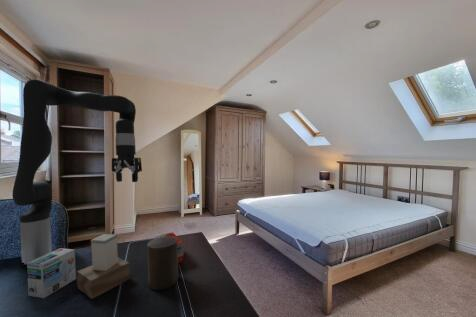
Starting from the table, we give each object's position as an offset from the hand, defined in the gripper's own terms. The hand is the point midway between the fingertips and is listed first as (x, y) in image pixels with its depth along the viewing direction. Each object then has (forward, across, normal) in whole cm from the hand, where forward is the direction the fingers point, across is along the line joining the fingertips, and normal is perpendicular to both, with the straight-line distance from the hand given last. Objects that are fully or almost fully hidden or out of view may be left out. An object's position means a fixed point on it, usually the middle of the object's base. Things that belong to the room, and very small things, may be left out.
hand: (127, 181), depth 91 cm
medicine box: (+32, +18, +3) cm, 37 cm away
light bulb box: (+32, -7, -25) cm, 42 cm away
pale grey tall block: (+26, +8, -18) cm, 33 cm away
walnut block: (+32, +8, -19) cm, 38 cm away
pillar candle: (+32, +27, -12) cm, 44 cm away
